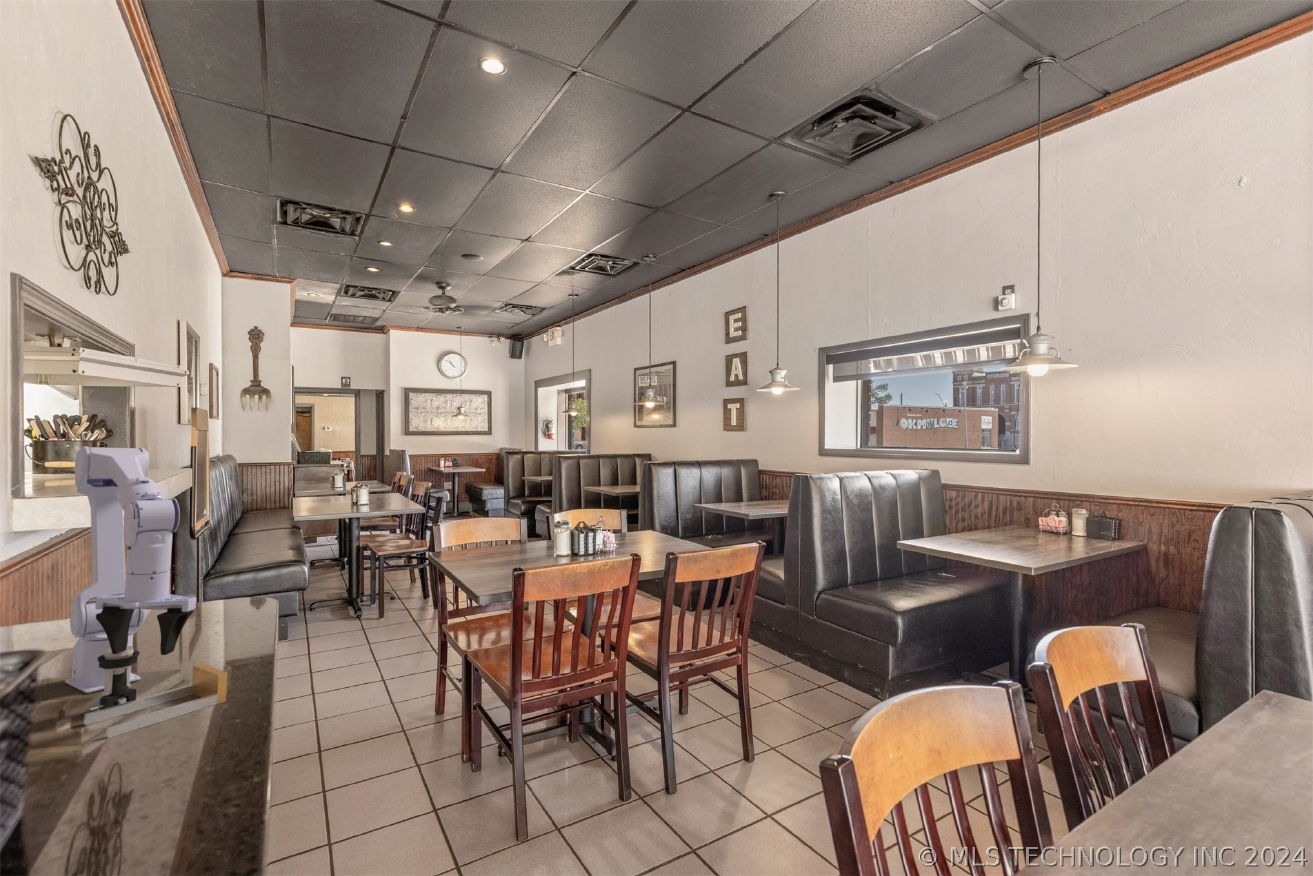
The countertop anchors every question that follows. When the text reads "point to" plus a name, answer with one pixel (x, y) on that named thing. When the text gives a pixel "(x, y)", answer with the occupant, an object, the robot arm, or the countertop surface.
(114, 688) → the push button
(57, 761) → the countertop surface
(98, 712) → the rail
